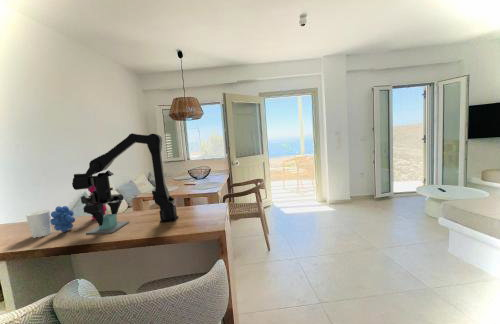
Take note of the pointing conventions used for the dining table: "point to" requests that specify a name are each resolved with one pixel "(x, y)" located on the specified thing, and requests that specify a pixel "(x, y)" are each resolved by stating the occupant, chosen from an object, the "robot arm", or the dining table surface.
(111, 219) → the teal block
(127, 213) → the dining table surface
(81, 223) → the dining table surface
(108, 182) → the robot arm
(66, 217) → the grapes
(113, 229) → the gray mat
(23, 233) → the dining table surface
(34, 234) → the white cup
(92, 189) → the pepper mill
